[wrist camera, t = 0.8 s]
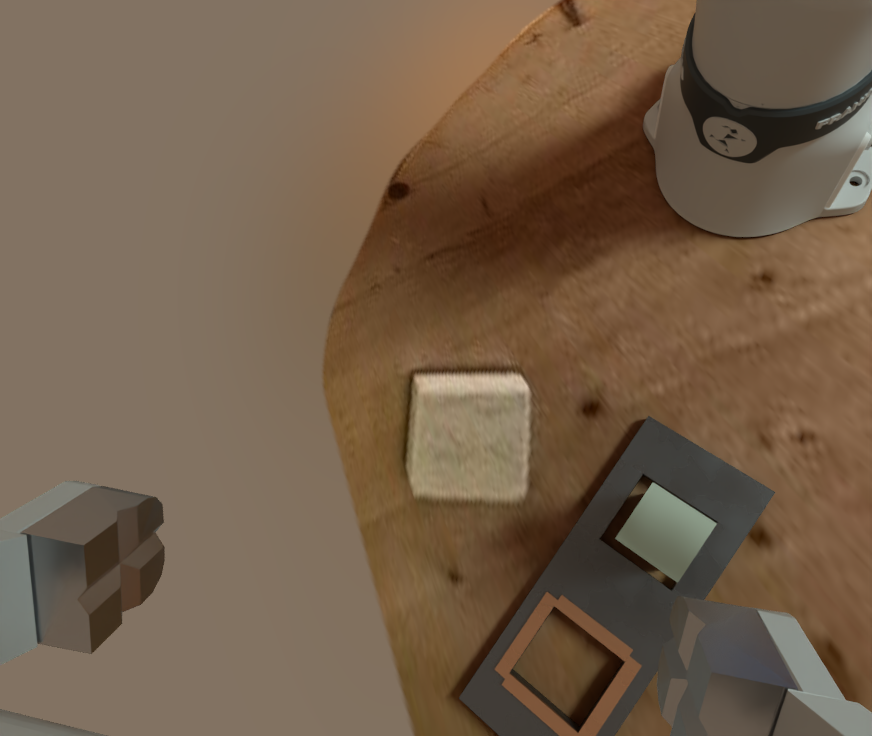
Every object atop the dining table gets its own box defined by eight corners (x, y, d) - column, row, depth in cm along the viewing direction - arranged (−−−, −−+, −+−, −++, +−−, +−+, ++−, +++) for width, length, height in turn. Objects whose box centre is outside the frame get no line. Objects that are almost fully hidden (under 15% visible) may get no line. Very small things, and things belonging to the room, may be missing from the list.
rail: (648, 418, 48) (648, 415, 47) (771, 493, 44) (776, 492, 43) (462, 694, 47) (457, 699, 46) (572, 794, 43) (570, 803, 42)
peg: (647, 493, 47) (652, 482, 36) (695, 524, 45) (716, 523, 34) (618, 536, 47) (615, 538, 36) (665, 569, 45) (677, 583, 34)
